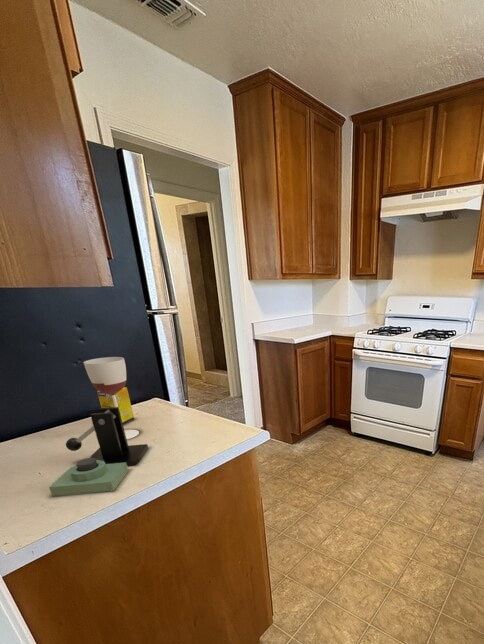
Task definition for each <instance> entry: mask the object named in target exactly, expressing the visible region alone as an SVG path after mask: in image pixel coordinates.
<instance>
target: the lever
mask: <svg viewBox="0 0 484 644" xmlns="http://www.w3.org/2000/svg"><path fill="white" fill-rule="evenodd" d="M108 412H111V411H110V410H109V409H108V410H107V411H106V412H105V413H108ZM112 414H113V413H112ZM115 417H116V416H115V415H114V414H113V418H115ZM94 432H95V429H94V426H93V425H92V426H91V427H90V428H88V429H87V430H86V431H84V432H83V433H82V434H81V435H80V436H79V437H78V438H77V437H71V438H68V439H67V440H66V442H65V447H66V449H67V450H69V451H71V452H76V451H78V450H80V449H81V448H82V445H83V443H82V441H84V440H85V439H86V438H87V437H89V436H90V435H91V434H92V433H94Z"/></svg>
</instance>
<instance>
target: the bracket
mask: <svg viewBox="0 0 484 644" xmlns="http://www.w3.org/2000/svg"><path fill="white" fill-rule="evenodd" d="M108 409H109V410H110V411H111V412H108V413H105V412H106V411H107V410H108ZM112 413H113V414H114V415H115V416H116V417H115V418H113V414H112ZM90 418H91V422H92V426H94V429H95V431H94V433H95V436H96V439H97V443H98V446H99V447H98V448H97V449H96V451H95V452H93V453H92V454H91V455H90V456H89V458H95V459H96V460H101V461H104V462H105V464H113V463H125V462H126V464H127V467H131V466H132V467H133V466H137V465H138V464H139V462H140V461H141V460H142V458H143V457H144V455H145V454H146V453H147V451H148V449H149V444H148V443H144V444H131V445H129V443H128V439H126V435H125V431H124V430H125V427H124V425H123V423H122V419H121V416H120V412H119V408H118V407H110V408H101V407H99V408H98V409H97V413H96V412H95V413H91V414H90Z"/></svg>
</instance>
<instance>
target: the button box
mask: <svg viewBox="0 0 484 644" xmlns="http://www.w3.org/2000/svg"><path fill="white" fill-rule="evenodd" d="M96 462H97V465H98V467H97V468H95V469H93V470H89V471H83V472H79V471H78V468H77V465H74V466H70V467H69V468H68V469H67V470H65V472H63V474H61V475H60V476H59V477H58V478H57V479H56V480H55V481H54V482H53V483H52V484H51V485H50V486H49V492H50V494H51V496H52V497H59V496H70V495H81V494H93V493H103V492H114V491H115V490H116V488H117V487H118V486H119V484H120V483H121V482H122V480H123V479H124V477H125V476H126V475H127V473H128V471H129V468H128V467H129V466H127V464H126V462H125V463H113V464H105V462H104V461H101V460H96Z"/></svg>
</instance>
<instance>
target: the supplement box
mask: <svg viewBox="0 0 484 644" xmlns="http://www.w3.org/2000/svg"><path fill="white" fill-rule="evenodd" d="M96 393H97V396H98V400H99V404H100V408H110V407H114V403H113V399H112V395H110V394H106V393H103V392H100V391H98V390H97V391H96ZM115 397H116V401H117V405H118V408H119V412H120V416H121V419H122V423H123V426H124V425H125V424H127V423H130V422H131V421H133V420H135V416H134V412H133V408H132V403H131V398H130V395H129V391H128V387H127V386H126V387H124V388H123V389H122V390H120V391H119V392H117V393H116V394H115Z"/></svg>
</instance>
